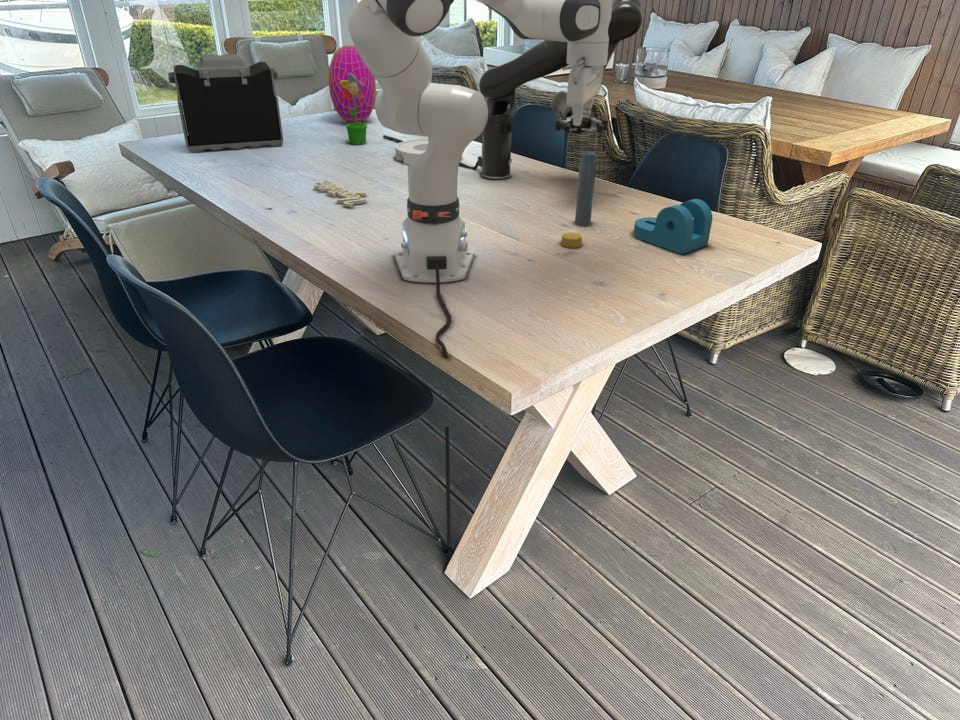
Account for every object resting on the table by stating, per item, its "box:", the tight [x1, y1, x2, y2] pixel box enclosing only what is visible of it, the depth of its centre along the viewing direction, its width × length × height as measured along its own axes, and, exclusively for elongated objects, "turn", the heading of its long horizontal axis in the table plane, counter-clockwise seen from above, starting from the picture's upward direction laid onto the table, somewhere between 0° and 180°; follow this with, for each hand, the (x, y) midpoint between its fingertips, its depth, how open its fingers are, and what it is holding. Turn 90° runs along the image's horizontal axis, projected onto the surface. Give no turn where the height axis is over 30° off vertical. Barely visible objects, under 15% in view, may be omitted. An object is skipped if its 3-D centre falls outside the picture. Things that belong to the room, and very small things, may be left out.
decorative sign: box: [313, 179, 366, 209], centre depth 205 cm, size 26×1×10 cm
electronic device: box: [167, 53, 284, 153], centre depth 252 cm, size 37×22×30 cm, turn 111°
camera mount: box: [632, 198, 713, 255], centre depth 173 cm, size 18×10×10 cm, turn 39°
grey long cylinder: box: [574, 150, 597, 227], centre depth 181 cm, size 4×4×19 cm
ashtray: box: [394, 138, 429, 166], centre depth 243 cm, size 23×23×4 cm
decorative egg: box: [328, 44, 377, 124], centre depth 286 cm, size 19×19×30 cm
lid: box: [560, 231, 583, 249], centre depth 172 cm, size 5×5×2 cm
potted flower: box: [339, 73, 368, 145], centre depth 255 cm, size 9×8×25 cm
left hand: (581, 121), depth 157 cm, fingers open, 8 cm apart
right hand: (584, 129), depth 184 cm, fingers open, 8 cm apart
